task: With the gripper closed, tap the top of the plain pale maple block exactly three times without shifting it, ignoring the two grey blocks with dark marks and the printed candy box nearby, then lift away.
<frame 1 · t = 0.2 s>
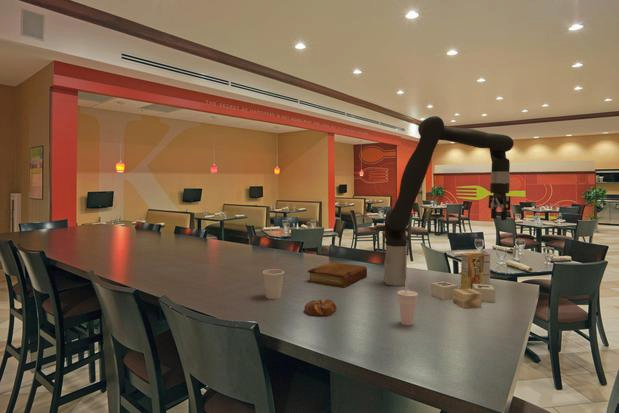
hand: (498, 219, 168), 29 cm above the table, tool pointing down, fingers open, 8 cm apart
marked block a: (483, 299, 148), on the table
smoothie: (406, 323, 121), on the table
syrup box: (481, 284, 170), on the table
brown braided bread bun: (320, 312, 132), on the table
marked block b: (444, 296, 151), on the table
candy box: (471, 290, 161), on the table
plain block: (466, 304, 141), on the table
diary: (338, 280, 177), on the table
dixie cup: (273, 297, 148), on the table
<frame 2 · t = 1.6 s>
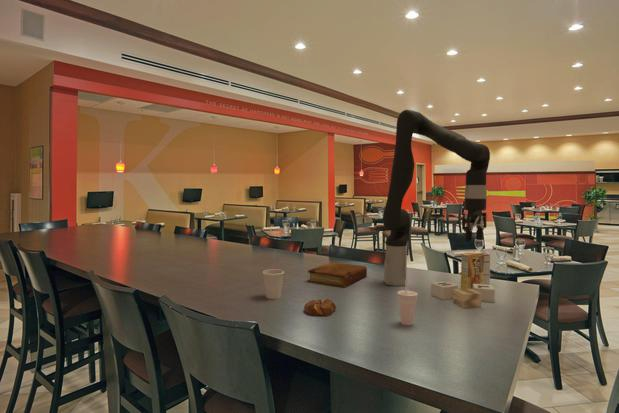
hand: (474, 240, 143), 23 cm above the table, tool pointing down, fingers open, 8 cm apart
nothing on the table moved.
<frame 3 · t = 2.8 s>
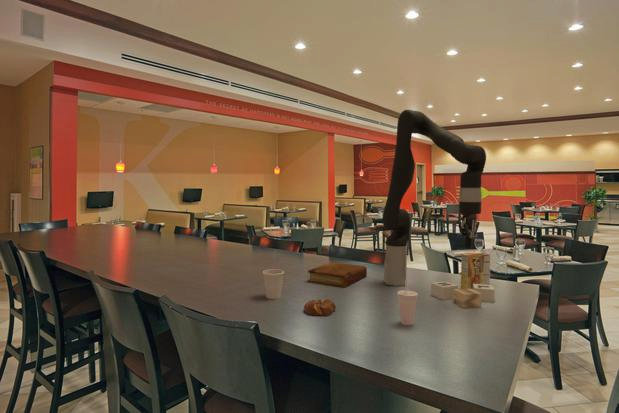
hand: (468, 247, 140), 21 cm above the table, tool pointing down, fingers closed
nothing on the table moved.
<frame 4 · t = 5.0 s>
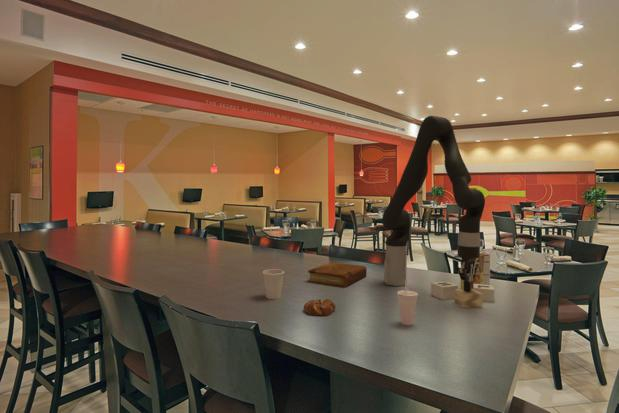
hand: (467, 291, 140), 5 cm above the table, tool pointing down, fingers closed
nothing on the table moved.
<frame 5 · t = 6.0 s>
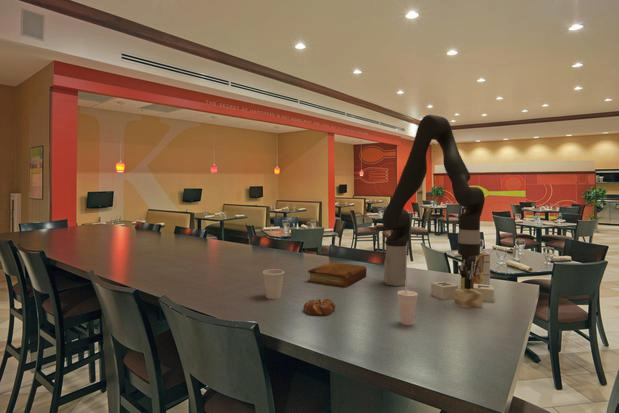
hand: (468, 288, 140), 6 cm above the table, tool pointing down, fingers closed
nothing on the table moved.
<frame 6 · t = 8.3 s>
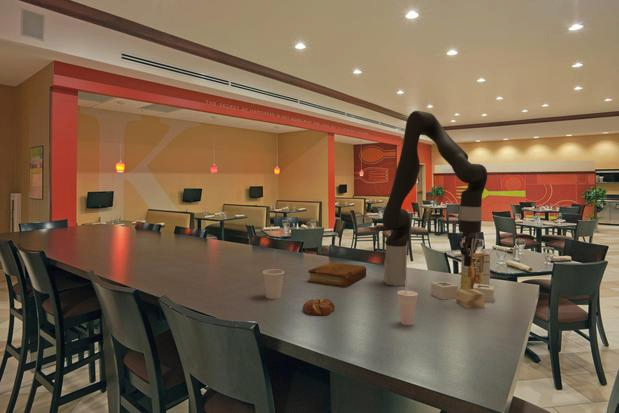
hand: (467, 265, 140), 14 cm above the table, tool pointing down, fingers closed
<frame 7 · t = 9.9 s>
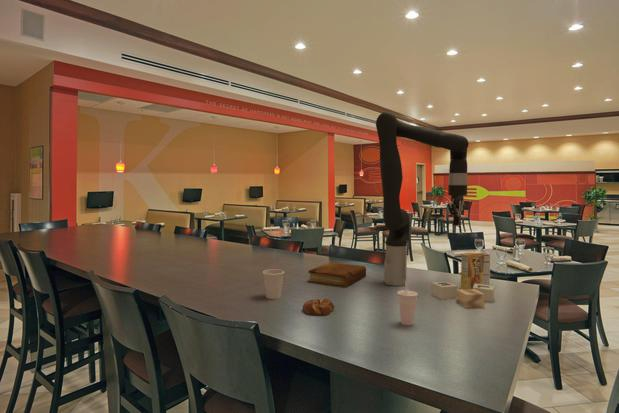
hand: (456, 225, 162), 27 cm above the table, tool pointing down, fingers closed
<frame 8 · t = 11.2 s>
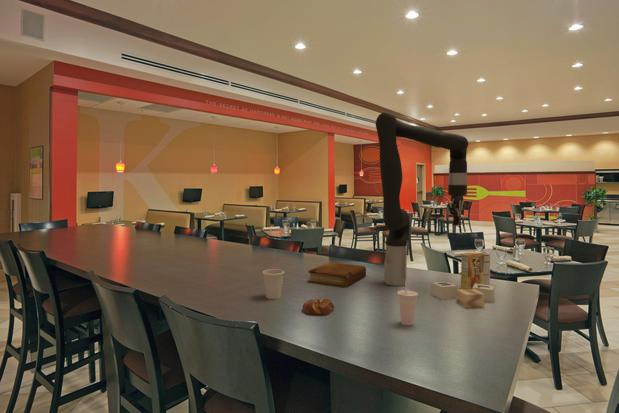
hand: (456, 224, 162), 27 cm above the table, tool pointing down, fingers closed
at the end: plain block moved 1.1 cm from its start; plain block tilted 0°; plain block on the table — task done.
